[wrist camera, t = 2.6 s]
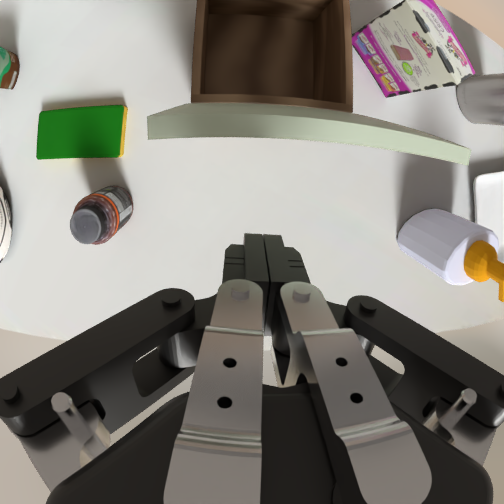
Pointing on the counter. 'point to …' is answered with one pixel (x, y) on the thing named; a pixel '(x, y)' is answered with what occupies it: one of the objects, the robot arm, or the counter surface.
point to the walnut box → (273, 53)
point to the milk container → (4, 225)
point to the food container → (8, 69)
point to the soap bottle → (453, 248)
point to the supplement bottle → (101, 215)
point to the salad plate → (490, 205)
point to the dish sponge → (82, 132)
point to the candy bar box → (412, 49)
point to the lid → (298, 128)
